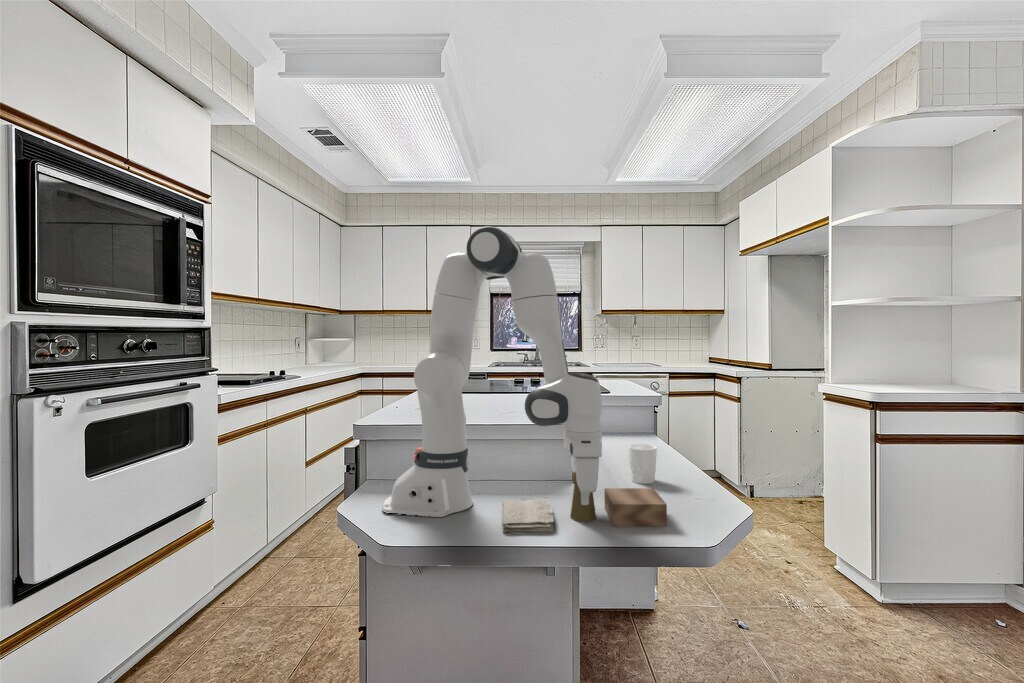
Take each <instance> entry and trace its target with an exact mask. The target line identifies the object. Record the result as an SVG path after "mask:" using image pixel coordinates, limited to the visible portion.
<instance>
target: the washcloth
mask: <svg viewBox="0 0 1024 683" xmlns="http://www.w3.org/2000/svg"><path fill="white" fill-rule="evenodd" d="M501 506H502V509H503V510H502V511H501V513H502V516H501V517H502V518H501V526H502V533H503V534H505V533H509V534H548V533H552V532H553V531H554V525H553V523H554V522H555V520H554V511H553V509H552V505H551V504H550V500H549V499H548V498H547V499H546V498H542V499H540V498H539V499H537V498H534V499H528V500H526V499H525V500H516V499H515V500H514V499H513V500H508V499H507V500H503V501H502V504H501Z"/></svg>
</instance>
